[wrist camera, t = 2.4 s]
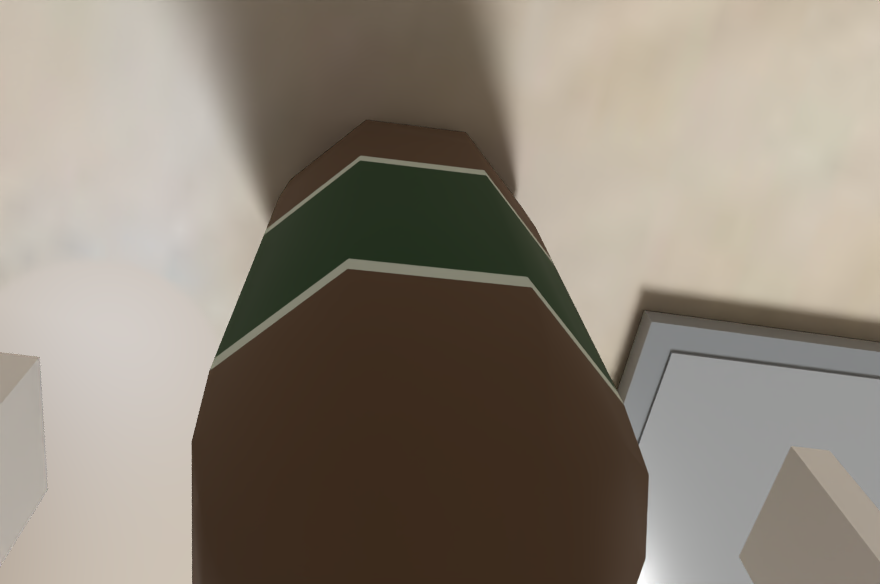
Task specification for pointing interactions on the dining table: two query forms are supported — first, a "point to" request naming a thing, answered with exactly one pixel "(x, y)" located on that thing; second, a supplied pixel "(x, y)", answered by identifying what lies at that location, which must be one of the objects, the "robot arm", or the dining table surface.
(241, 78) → the dining table surface
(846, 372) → the plate
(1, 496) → the robot arm
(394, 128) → the beer bottle
